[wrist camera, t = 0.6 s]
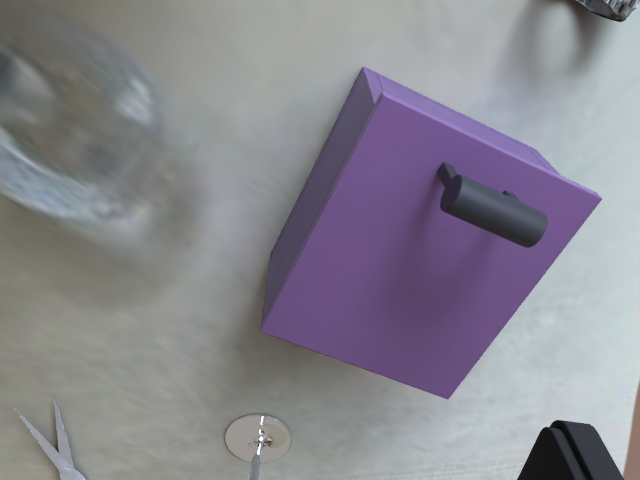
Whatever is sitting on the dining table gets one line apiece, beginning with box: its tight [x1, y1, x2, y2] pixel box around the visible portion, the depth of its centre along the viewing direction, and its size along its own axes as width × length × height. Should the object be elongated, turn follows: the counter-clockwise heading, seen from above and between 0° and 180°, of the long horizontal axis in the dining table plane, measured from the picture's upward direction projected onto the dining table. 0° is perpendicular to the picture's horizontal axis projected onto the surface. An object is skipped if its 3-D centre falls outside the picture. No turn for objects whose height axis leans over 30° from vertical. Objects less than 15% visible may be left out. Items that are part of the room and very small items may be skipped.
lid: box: [260, 91, 602, 399], centre depth 33 cm, size 17×14×5 cm
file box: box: [262, 67, 561, 321], centre depth 40 cm, size 16×14×9 cm
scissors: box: [12, 399, 86, 480], centre depth 57 cm, size 11×1×20 cm
